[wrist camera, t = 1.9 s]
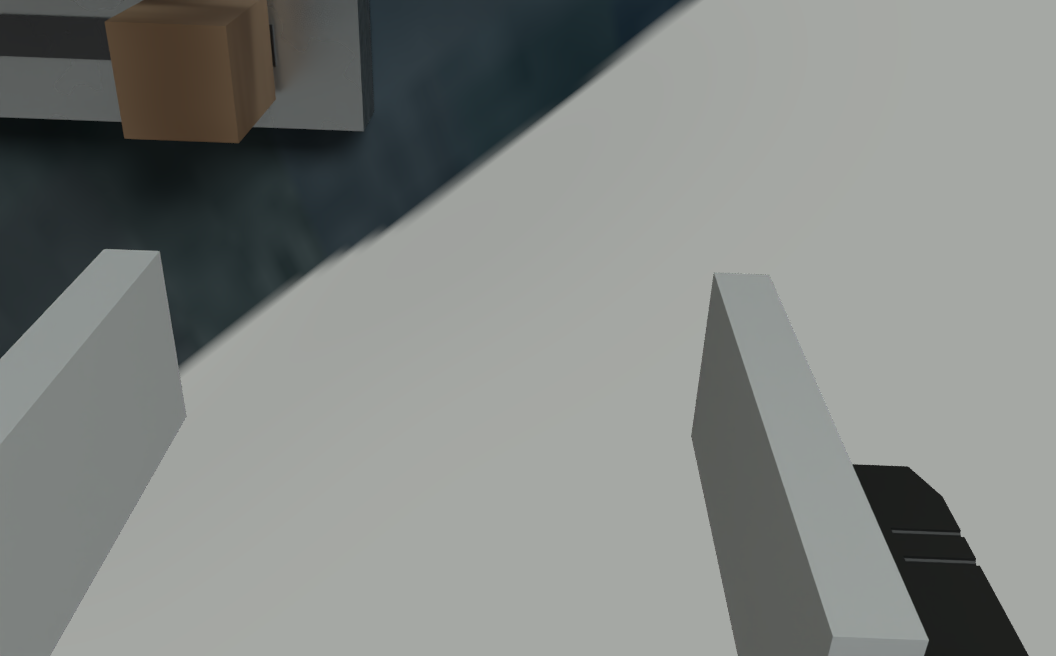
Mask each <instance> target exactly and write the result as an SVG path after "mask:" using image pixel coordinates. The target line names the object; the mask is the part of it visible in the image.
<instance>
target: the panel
mask: <svg viewBox="0 0 1056 656" xmlns="http://www.w3.org/2000/svg"><path fill="white" fill-rule="evenodd" d="M141 1H143V0H0V117H10V118H36V119H61V120H87V121H113V122H122V121H121V116H120V110H119V104H118V98H117V92H116V86H115V80H114V75H113V69H112V63H111V57H110V51H109V45H108V39H107V33H106V28H105V22H104V21H106V20H108V19H110V18H112V17H113V16H115V15H117V14H119V13H121V12H123V11H124V10H126V9H128V8H130V7H132V6H134V5H135V4H137V3H139V2H141ZM267 8H268V19H269V30H270V41H271V51H272V62H273V73H274V84H275V95H276V100H275V101H274V102H273V104H272V105H271V106H270V107H269V108H268V109H267V111H266V112H265V113H264V114H263V115H262V117H261V118H260V119H259V120H258V121H257V122H256V124H255V125H254V126H253V127H267V128H293V129H319V130H345V131H364V130H365V128H366V126H367V124H368V122H369V120H370V119H371V117H372V115H373V113H374V100H373V77H372V53H371V30H370V7H369V0H267Z"/></svg>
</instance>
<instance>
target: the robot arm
mask: <svg viewBox="0 0 1056 656" xmlns="http://www.w3.org/2000/svg"><path fill="white" fill-rule="evenodd" d="M185 418H186V411H185V405H184V399H183V393H182V386H181V380H180V374H179V368H178V362H177V356H176V349H175V343H174V337H173V331H172V325H171V319H170V313H169V306H168V300H167V294H166V288H165V282H164V276H163V269H162V263H161V257H160V251H143V250H117V249H104V250H103V251H102V252H101V253H100V254H99V255H98V256H97V257H96V258H95V259H94V260H93V262H92V263H91V264H90V265H89V266H88V267H87V268H86V269H85V270H84V271H83V272H82V273H81V274H80V275H79V276H78V277H77V278H76V279H75V281H74V282H73V283H72V284H71V285H70V286H69V287H68V288H67V289H66V290H65V291H64V292H63V293H62V294H61V295H60V296H59V297H58V299H57V300H56V301H55V302H54V303H53V304H52V305H51V306H50V307H49V308H48V309H47V310H46V311H45V312H44V313H43V314H42V315H41V317H40V318H39V319H38V320H37V321H36V322H35V323H34V324H33V325H32V326H31V327H30V328H29V329H28V330H27V331H26V332H25V333H24V335H23V336H22V337H21V338H20V339H19V340H18V341H17V342H16V343H15V344H14V345H13V346H12V347H11V348H10V349H9V350H8V351H7V353H6V354H5V355H4V356H3V357H2V358H1V359H0V656H50V655H51V653H52V651H53V649H54V648H55V646H56V644H57V642H58V641H59V639H60V637H61V635H62V634H63V632H64V630H65V628H66V627H67V625H68V623H69V621H70V620H71V618H72V616H73V614H74V613H75V611H76V609H77V607H78V606H79V604H80V602H81V600H82V599H83V597H84V595H85V593H86V592H87V590H88V588H89V586H90V585H91V583H92V581H93V579H94V577H95V576H96V574H97V572H98V570H99V569H100V567H101V565H102V563H103V562H104V560H105V558H106V557H107V555H108V553H109V551H110V549H111V548H112V546H113V544H114V542H115V541H116V539H117V537H118V535H119V534H120V532H121V530H122V528H123V527H124V525H125V523H126V521H127V520H128V518H129V516H130V514H131V512H132V511H133V509H134V507H135V505H136V504H137V502H138V500H139V498H140V497H141V495H142V493H143V492H144V490H145V488H146V486H147V485H148V483H149V481H150V479H151V477H152V476H153V474H154V472H155V471H156V469H157V467H158V465H159V463H160V462H161V460H162V458H163V457H164V455H165V453H166V451H167V449H168V448H169V446H170V444H171V442H172V441H173V439H174V437H175V435H176V434H177V432H178V430H179V428H180V427H181V425H182V423H183V421H184V420H185ZM691 437H692V441H693V446H694V451H695V456H696V460H697V465H698V470H699V474H700V479H701V484H702V489H703V493H704V498H705V502H706V507H707V512H708V517H709V521H710V526H711V531H712V536H713V540H714V545H715V550H716V555H717V559H718V564H719V569H720V573H721V578H722V583H723V588H724V592H725V597H726V602H727V607H728V611H729V616H730V620H731V625H732V630H733V635H734V639H735V644H736V649H737V653H738V656H1028V654H1027V652H1026V650H1025V648H1024V646H1023V645H1022V643H1021V641H1020V639H1019V637H1018V635H1017V633H1016V632H1015V630H1014V628H1013V626H1012V624H1011V622H1010V621H1009V619H1008V617H1007V615H1006V613H1005V611H1004V609H1003V608H1002V606H1001V604H1000V602H999V600H998V598H997V597H996V595H995V593H994V591H993V589H992V587H991V586H990V584H989V582H988V580H987V578H986V576H985V574H984V573H983V571H982V569H981V567H980V566H976V563H975V562H976V558H975V556H974V554H973V552H972V550H971V549H970V547H969V545H968V543H967V541H966V539H965V538H964V537H961V535H960V531H961V530H960V528H959V526H958V525H957V523H956V521H955V519H954V517H953V515H952V514H951V512H950V510H949V508H948V506H947V504H946V502H945V501H944V499H943V497H942V496H941V495H940V494H939V493H938V492H936V491H935V490H934V489H933V488H932V487H931V486H930V485H928V484H927V483H926V482H925V481H924V480H923V479H921V477H919V476H918V475H917V474H916V473H915V472H914V471H912V470H911V469H910V468H909V467H904V466H879V465H854V464H852V463H851V461H850V458H849V456H848V454H847V452H846V449H845V447H844V445H843V442H842V440H841V438H840V436H839V433H838V431H837V429H836V426H835V424H834V422H833V419H832V417H831V415H830V413H829V410H828V408H827V406H826V403H825V401H824V399H823V397H822V394H821V392H820V390H819V387H818V385H817V383H816V381H815V378H814V376H813V374H812V371H811V369H810V367H809V365H808V362H807V360H806V358H805V356H804V353H803V351H802V348H801V346H800V344H799V342H798V339H797V337H796V335H795V332H794V330H793V328H792V326H791V323H790V321H789V319H788V317H787V314H786V312H785V310H784V307H783V305H782V303H781V301H780V298H779V296H778V294H777V291H776V289H775V287H774V284H773V282H772V280H771V277H770V276H769V275H762V274H736V273H714V276H713V283H712V291H711V298H710V305H709V313H708V319H707V327H706V334H705V342H704V348H703V356H702V363H701V370H700V377H699V385H698V392H697V399H696V407H695V414H694V421H693V428H692V435H691Z"/></svg>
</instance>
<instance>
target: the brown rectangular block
mask: <svg viewBox="0 0 1056 656" xmlns="http://www.w3.org/2000/svg"><path fill="white" fill-rule="evenodd" d="M104 22H105V28H106V33H107V39H108V45H109V51H110V57H111V63H112V69H113V75H114V80H115V86H116V92H117V98H118V104H119V110H120V116H121V121H122V127H123V133H124V139H145V140H171V141H197V142H223V143H239V142H240V141H241V140H242V139H243V138H244V136H245V135H246V134H247V133H248V132H249V131H250V129H251V128H252V127H253V126H254V125H255V124H256V122H257V121H258V120H259V119H260V118H261V117H262V115H263V114H264V113H265V112H266V111H267V109H268V108H269V107H270V106H271V105H272V104H273V102H274V101H275V100H276V95H275V84H274V73H273V62H272V51H271V41H270V30H269V19H268V8H267V0H143V1H141V2H139V3H137V4H135V5H134V6H132V7H130V8H128V9H126V10H124V11H123V12H121V13H119V14H117V15H115V16H113V17H112V18H110V19H108V20H106V21H104Z"/></svg>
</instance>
